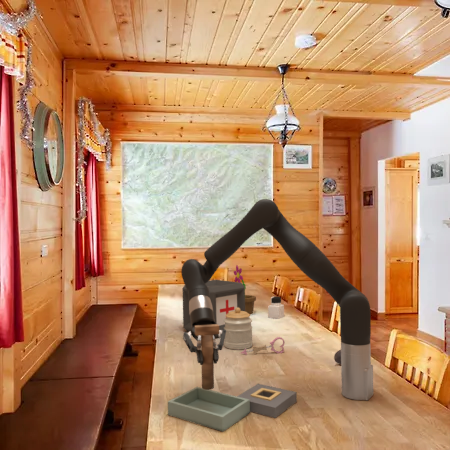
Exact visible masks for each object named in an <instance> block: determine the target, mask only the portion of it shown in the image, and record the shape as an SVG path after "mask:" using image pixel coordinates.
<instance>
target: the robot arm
mask: <svg viewBox="0 0 450 450" xmlns="http://www.w3.org/2000/svg"><path fill="white" fill-rule="evenodd" d="M262 229H263V230H264V231H266V232H267V233H268V234H269V235H270V236H271V237H272V238H274V240H276V241H277V242H278V244H279V245H280V246H281V248H282V249H283V251H284V252H285V253H286V255H287V256H288V257H289V259H290V260H291V261H292V262H293V263H294V264H295V265H296V267H297V268H298V269H299V270H300V271H301V272H302V273H303V274H304V275H306V276H307V278H309V279H310V280H312V281H313V282H314V283H315V284H317V285H318V286H320V287H321V288H323V289H324V290H325V291H326V292H327V294H328V295H330V296H331V298H332V299H333V300H334V301H335V302H336V304H337V305H338V307H339V317H340V318H339V319H340V320H339V321H340V322H339V323H340V329H339V330H340V350H341V364H340V365H341V367H340V370H341V373H340V374H341V376H340V377H341V395H342V396H343V397H345V398H347V399H350V400H355V401H369V400H370V398H371V397H373V395H374V366H373V364H371V363H372V360H371V359H372V357H371V355H372V353H371V352H372V351H371V336H372V333H371V330H372V329H371V324H372V323H371V320H372V319H371V305H370V301H369V299H368V297H367V296H366V295H365V294H364V293H363V292H362V291H361V290H359V289H357V288H356V287H355V286H354V285H353V284H352V283H350V282H349V280H347V279H346V278H345V277H344V276H343V275H342V274H341V273H340V271H339V270H338V269H337V267H336V266H335V265H334V263H332V262H331V261H330V259H329V258H328V257H327V255H326V254H324V253H323V252H322V250H321V249H320V248H319V247H317V246H316V244H315V243H314V242H312V241H311V240H310V239H309V238H308V237H307V236H305V235H304V234H303V233H301V232H300V231H299V230H298V229H296V228H295V227H294V226H293V225H292V224H291V223H290V222H289V221H288V220H287V218H286V217H285V216H284V215H283V214H282V212H281V211H280V209H279V207H278V205H277V204H276V203H275V202H274V201H273V200H271V199H267V198H262V199H259V200H257V201H256V202H255V203H254V205H253V206H252V207H251V208H250V210H248V212H247V213H246V214H245V215H244V216H243V218H242V219H241V220H240V221H239V222H238V223H236V225H234V226H233V227H232V228H231V229H230V230H229V231H227V232H226V233H225V234H224V235H223V236H221V237H220V238H219V239H218V240H217V241H215V242H214V243H213V244H212V245H210V247H208V248H207V249H206V250H205V251H204V252H203V253H204V254H203V255H204V256H203V257H204V258H205V262H204V263H203V264H202V263H201V262H199V260H197V259H195V258H189V259H187V260H186V261H184V262H183V264H182V266H181V271H180V272H181V278H182V281H183V283H184V285H185V287H186V289H187V291H188V298H189V314H190V320H191V328H192V329H191V331H190V332H188V331H184V332H183V334H182V339H183V341H184V343H185V345H186V346H187V348H188V350H189V352H190V353H195V354H196V360H197V363H198V364H199V366H202V365H203V356H202V350H201V335H199V336H196V335H195V326H197V325H212V324H215V319H214V313H213V307H212V303H211V300H210V294H209V289H208V287H207V285H206V283H207V282H208V281H209V280H212V279H211V278H212V277H213V276H214V274H215V273H216V272H217V271H218V269H219V268H220V266H221V265H222V264H223V263H225V262H226V261H227V260H228V259H229V258H231V256H233V255H234V253H237V251H238V250H239V249H240V248H241V247H242V246H243V245H244V244H245V242H247V240H249V239H251V237H252V236H253V235H255V234H256V233H259V231H261V230H262ZM218 335H219V337H218V338H219V339H220V340H219V343H218V344H217V341H216V338H215V336H216V334H213V356H214V365H215V364H218V362H219V359H220V355H219V351H222V350H223V347H224V345H225V344H224V340H225V335H226V330H225V329H224V330H223V331H222V330H219V334H218ZM192 338H193V339H195V340H196V346H195V344H194V343H193V341H192Z"/></svg>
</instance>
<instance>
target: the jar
mask: <svg viewBox="0 0 450 450" xmlns="http://www.w3.org/2000/svg"><path fill="white" fill-rule="evenodd" d="M250 317H251V315H250V314H248V313H247V312H245V311H241V310H240V308H238V307H237V308H235V311H231V312H229V313H228V314H226V319H225V320H224V322H225V327H224V329H225V330H226V335H225V339H224V344H223V345H224V347H225V348H227V349H229V350H239V351H241V350H245V349H246V350H247V349H250V348H253V341H254V340H253V326H252V322H253V319H252V317H251V318H250Z"/></svg>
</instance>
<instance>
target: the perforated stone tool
mask: <svg viewBox="0 0 450 450" xmlns="http://www.w3.org/2000/svg"><path fill="white" fill-rule="evenodd" d="M333 359H334V362H335V363H336V364H338V365H341V349H339V350H337V351H336V352H335V353H334V356H333Z"/></svg>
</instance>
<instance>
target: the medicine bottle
mask: <svg viewBox="0 0 450 450" xmlns="http://www.w3.org/2000/svg"><path fill="white" fill-rule="evenodd" d="M267 311H268V312H267V314H268V315H267V316H268V317H267V318H269V319H278V320H279V319H282V318H284V317H285V305H284V304H282V298H281V297H280V296H271V297H270V305H268V306H267Z"/></svg>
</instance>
